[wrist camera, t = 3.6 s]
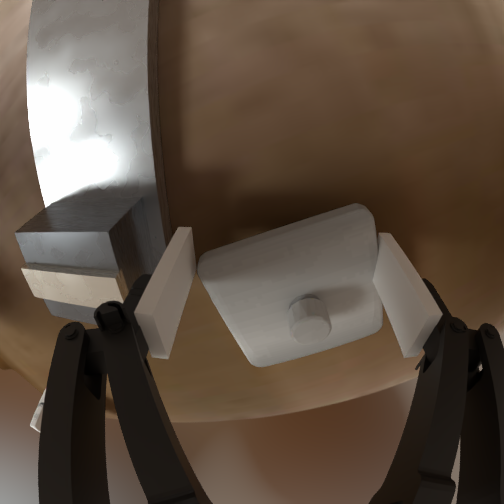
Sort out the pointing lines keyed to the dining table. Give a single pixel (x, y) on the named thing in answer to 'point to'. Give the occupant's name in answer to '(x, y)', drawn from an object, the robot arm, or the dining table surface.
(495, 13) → the dining table surface
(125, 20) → the rail
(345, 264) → the grey cover with knob
